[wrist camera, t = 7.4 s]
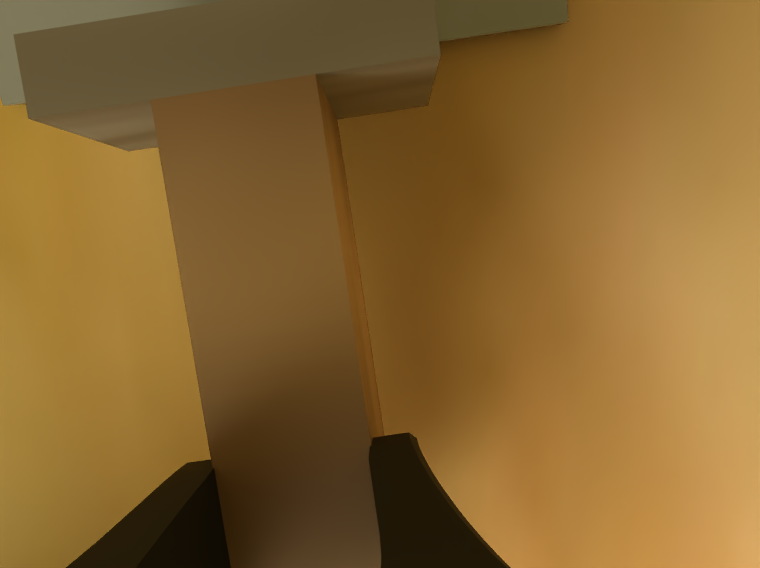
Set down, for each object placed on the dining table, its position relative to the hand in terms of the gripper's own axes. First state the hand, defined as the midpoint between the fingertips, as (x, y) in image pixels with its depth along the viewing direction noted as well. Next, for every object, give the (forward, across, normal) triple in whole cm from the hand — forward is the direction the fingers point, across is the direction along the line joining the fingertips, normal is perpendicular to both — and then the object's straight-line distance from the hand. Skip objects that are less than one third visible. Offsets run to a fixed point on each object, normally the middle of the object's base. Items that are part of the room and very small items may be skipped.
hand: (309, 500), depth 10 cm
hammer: (+3, 0, 0) cm, 3 cm away
